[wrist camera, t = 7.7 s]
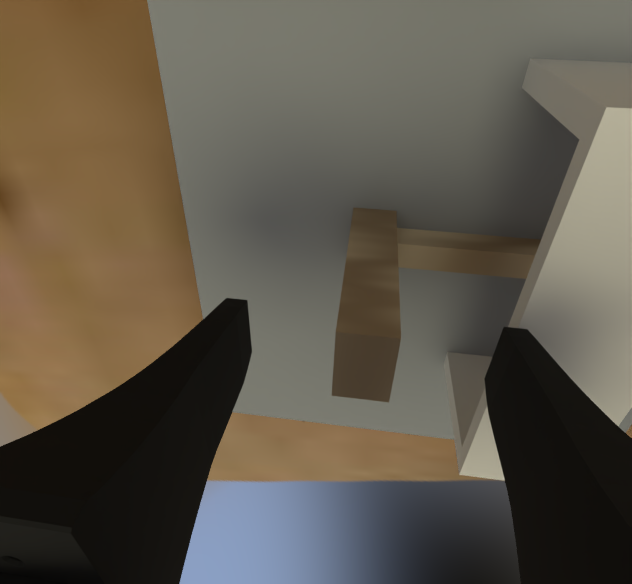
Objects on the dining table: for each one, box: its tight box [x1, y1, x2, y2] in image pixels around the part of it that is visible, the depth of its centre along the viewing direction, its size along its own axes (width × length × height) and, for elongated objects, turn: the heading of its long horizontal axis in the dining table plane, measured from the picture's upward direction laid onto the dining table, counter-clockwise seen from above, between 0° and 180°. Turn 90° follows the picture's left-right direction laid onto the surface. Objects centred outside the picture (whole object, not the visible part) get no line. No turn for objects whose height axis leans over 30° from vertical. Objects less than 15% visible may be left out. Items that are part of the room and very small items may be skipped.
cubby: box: [147, 0, 632, 481], centre depth 14 cm, size 21×25×6 cm
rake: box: [331, 207, 541, 402], centre depth 14 cm, size 10×6×7 cm, turn 89°
